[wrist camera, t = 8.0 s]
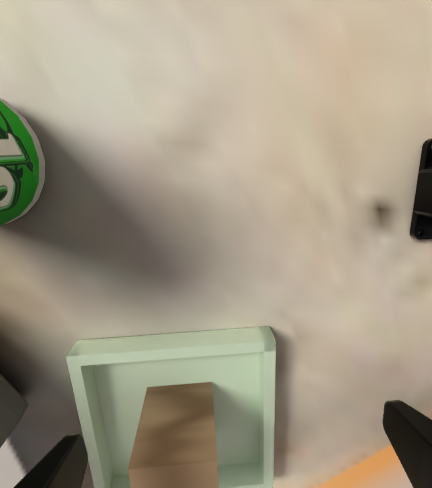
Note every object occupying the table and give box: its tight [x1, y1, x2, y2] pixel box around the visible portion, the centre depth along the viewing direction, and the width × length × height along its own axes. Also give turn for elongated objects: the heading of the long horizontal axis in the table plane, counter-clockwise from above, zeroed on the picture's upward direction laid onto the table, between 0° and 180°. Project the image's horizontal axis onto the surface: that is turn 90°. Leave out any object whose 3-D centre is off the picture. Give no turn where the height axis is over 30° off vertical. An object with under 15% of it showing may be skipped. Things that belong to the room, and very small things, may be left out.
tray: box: [66, 326, 276, 488], centre depth 21 cm, size 14×14×2 cm
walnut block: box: [128, 382, 219, 488], centre depth 19 cm, size 5×5×6 cm
